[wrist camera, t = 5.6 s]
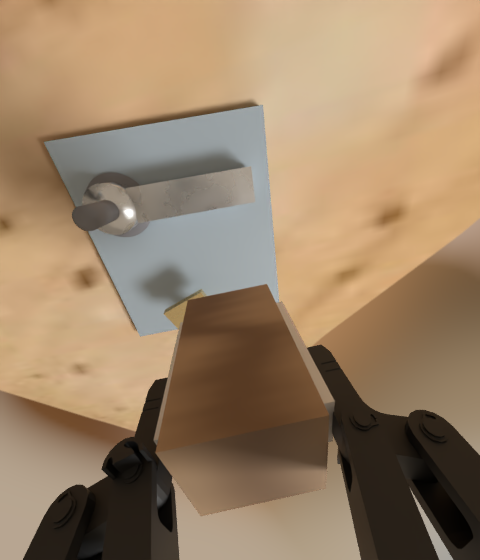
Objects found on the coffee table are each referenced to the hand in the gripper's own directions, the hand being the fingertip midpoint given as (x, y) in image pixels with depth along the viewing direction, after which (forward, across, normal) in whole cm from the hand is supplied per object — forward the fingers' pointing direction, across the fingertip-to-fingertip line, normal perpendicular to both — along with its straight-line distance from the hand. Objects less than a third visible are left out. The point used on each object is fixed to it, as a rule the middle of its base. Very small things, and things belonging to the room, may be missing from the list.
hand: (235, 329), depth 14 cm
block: (+1, 0, 0) cm, 1 cm away
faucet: (+12, -4, +8) cm, 15 cm away
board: (+13, -4, +3) cm, 14 cm away
